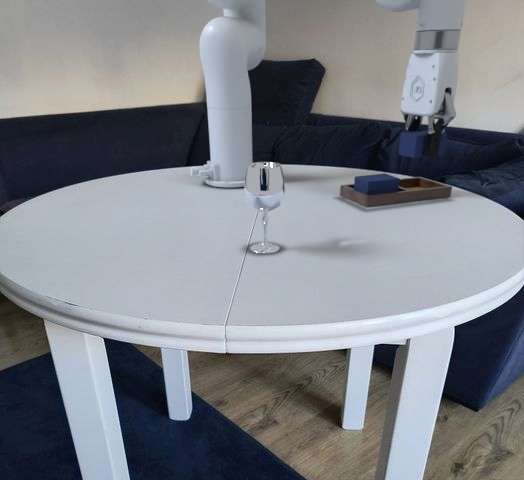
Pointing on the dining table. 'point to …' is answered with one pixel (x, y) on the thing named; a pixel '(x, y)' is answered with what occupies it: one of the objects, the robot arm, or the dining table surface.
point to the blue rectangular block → (417, 144)
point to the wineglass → (264, 195)
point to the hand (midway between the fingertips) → (420, 152)
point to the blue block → (376, 184)
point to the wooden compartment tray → (399, 192)
